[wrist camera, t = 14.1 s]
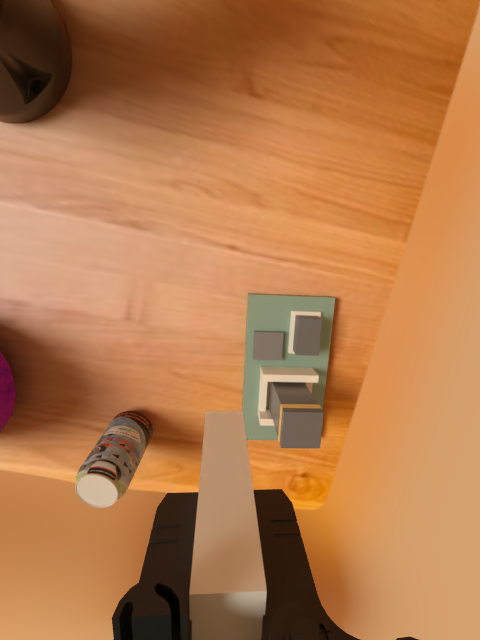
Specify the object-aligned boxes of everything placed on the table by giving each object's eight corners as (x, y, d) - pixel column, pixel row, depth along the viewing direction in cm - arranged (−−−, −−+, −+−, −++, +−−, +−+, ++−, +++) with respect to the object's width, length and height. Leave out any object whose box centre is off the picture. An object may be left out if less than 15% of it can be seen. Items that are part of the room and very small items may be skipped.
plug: (270, 376, 43) (283, 411, 33) (301, 377, 43) (324, 412, 33) (268, 405, 44) (280, 448, 34) (298, 406, 44) (320, 448, 34)
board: (248, 293, 42) (250, 297, 38) (332, 296, 42) (343, 300, 38) (240, 435, 46) (242, 452, 42) (317, 436, 47) (326, 453, 43)
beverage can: (160, 415, 45) (138, 471, 33) (142, 455, 46) (114, 522, 34) (120, 399, 44) (82, 451, 32) (103, 440, 45) (61, 505, 33)
